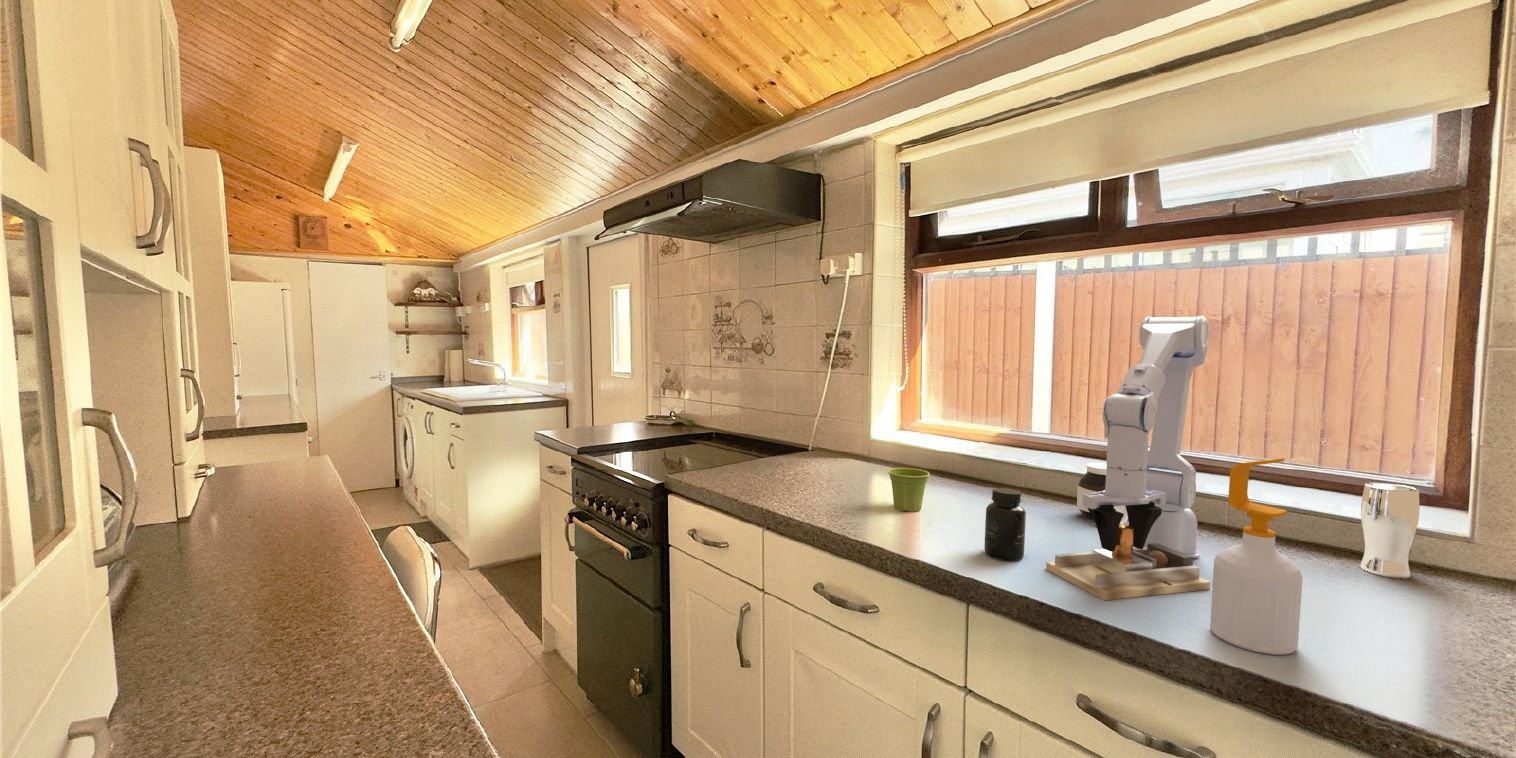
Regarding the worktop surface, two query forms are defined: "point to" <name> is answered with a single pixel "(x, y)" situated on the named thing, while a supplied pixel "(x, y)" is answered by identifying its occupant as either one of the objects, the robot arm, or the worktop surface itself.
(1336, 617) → the worktop surface
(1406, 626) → the worktop surface
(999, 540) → the supplement bottle
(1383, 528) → the beer glass
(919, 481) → the plant pot
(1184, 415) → the robot arm
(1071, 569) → the base
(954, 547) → the worktop surface
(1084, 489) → the spread jar
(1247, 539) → the soap bottle
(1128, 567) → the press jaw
